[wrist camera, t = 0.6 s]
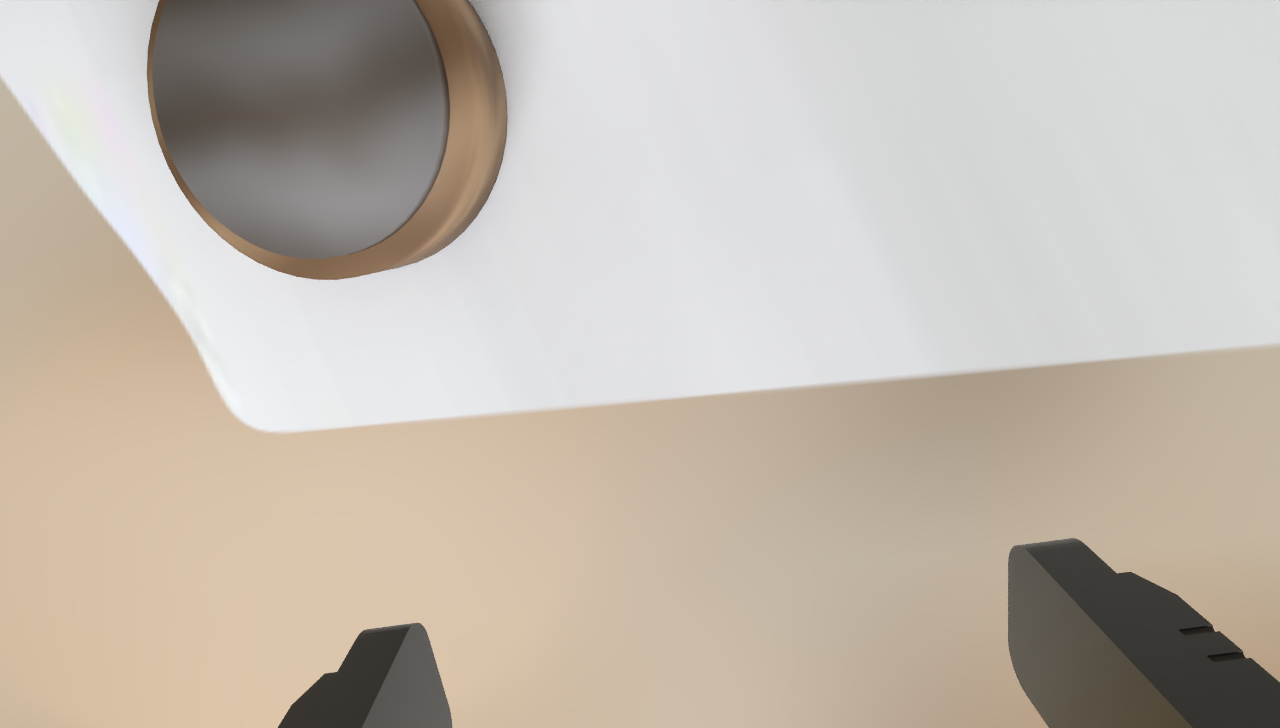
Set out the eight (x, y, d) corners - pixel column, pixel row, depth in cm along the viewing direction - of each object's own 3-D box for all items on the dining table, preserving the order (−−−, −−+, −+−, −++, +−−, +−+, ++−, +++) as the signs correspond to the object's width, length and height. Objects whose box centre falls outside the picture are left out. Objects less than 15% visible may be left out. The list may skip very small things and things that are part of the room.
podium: (164, 15, 34) (71, -11, 30) (431, -124, 31) (373, -179, 26) (294, 308, 37) (227, 325, 32) (553, 211, 33) (520, 214, 29)
